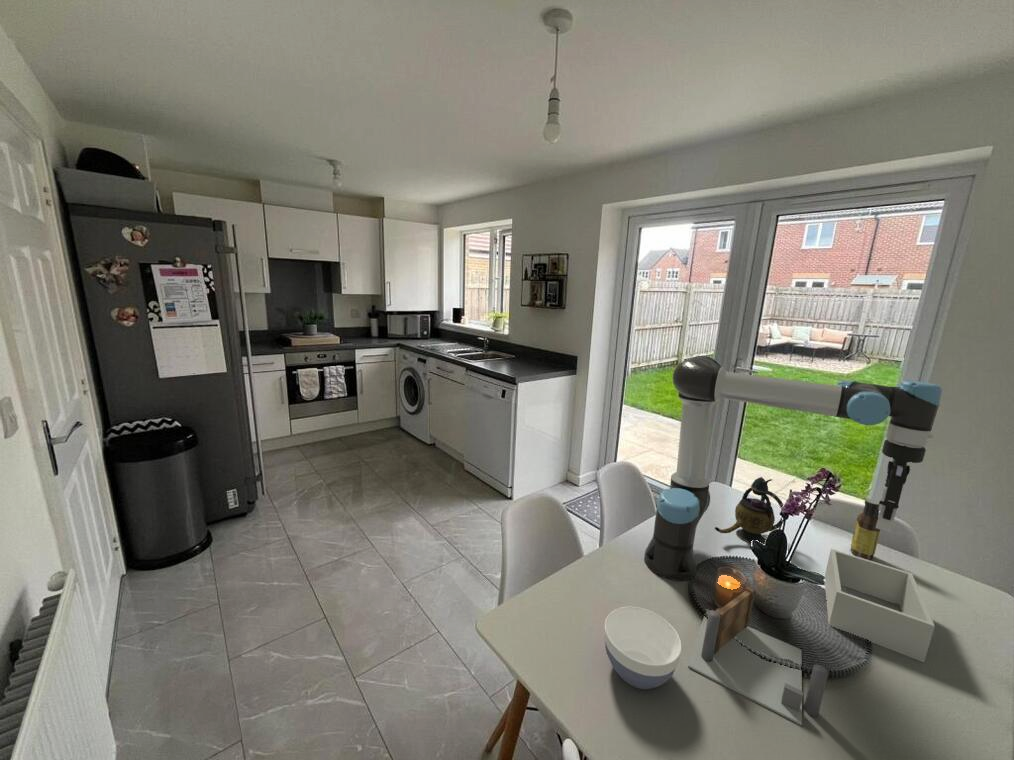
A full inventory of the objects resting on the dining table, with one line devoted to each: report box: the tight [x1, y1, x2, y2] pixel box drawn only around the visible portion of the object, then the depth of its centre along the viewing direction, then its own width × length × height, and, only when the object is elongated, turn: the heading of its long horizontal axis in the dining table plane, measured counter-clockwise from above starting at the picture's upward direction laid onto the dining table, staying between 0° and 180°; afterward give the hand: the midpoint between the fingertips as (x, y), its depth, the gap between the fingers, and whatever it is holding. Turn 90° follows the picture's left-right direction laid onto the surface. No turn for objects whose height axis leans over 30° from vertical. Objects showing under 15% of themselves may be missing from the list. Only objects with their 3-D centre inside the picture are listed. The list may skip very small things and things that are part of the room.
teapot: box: [714, 476, 784, 545], centre depth 143 cm, size 12×25×23 cm, turn 107°
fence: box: [687, 608, 829, 726], centre depth 93 cm, size 24×22×12 cm
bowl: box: [603, 606, 683, 690], centre depth 90 cm, size 16×16×10 cm
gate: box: [714, 585, 756, 654], centre depth 99 cm, size 16×2×10 cm, turn 125°
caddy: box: [824, 548, 936, 663], centre depth 111 cm, size 18×24×10 cm
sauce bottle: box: [849, 498, 881, 561], centre depth 138 cm, size 6×6×20 cm
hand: (883, 520), depth 106 cm, fingers open, 13 cm apart
